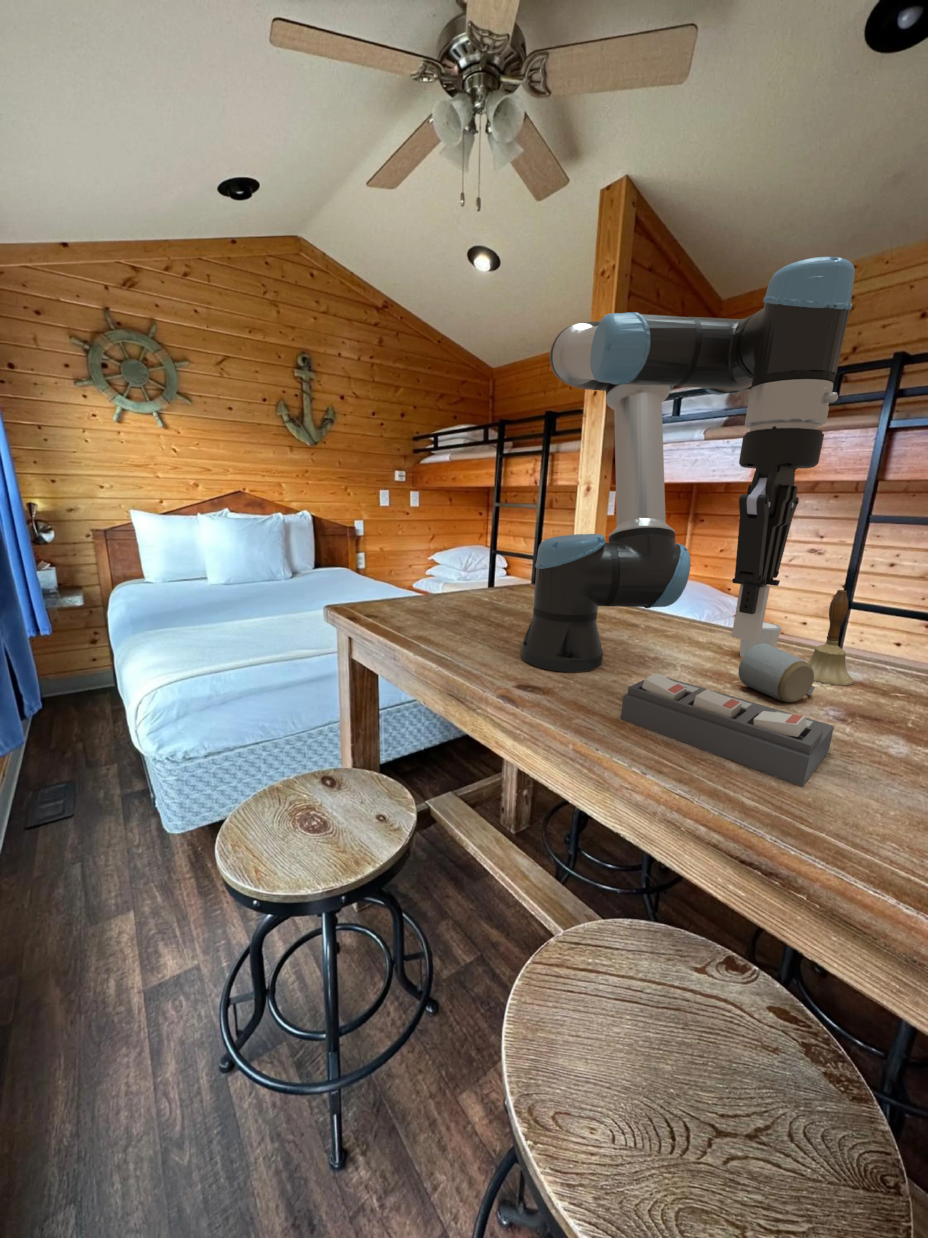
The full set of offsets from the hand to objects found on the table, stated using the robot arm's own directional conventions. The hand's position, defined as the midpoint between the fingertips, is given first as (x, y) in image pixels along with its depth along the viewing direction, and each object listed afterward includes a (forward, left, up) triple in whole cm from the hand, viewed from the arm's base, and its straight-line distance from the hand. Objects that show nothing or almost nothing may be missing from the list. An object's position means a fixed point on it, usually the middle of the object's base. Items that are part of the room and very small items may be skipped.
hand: (745, 638), depth 60 cm
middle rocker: (-2, 0, -9) cm, 9 cm away
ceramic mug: (-1, +26, -15) cm, 29 cm away
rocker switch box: (-2, +2, -14) cm, 15 cm away
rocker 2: (+5, 0, -9) cm, 10 cm away
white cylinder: (-10, +43, -14) cm, 47 cm away
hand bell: (+2, +41, -14) cm, 44 cm away
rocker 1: (-9, 0, -9) cm, 13 cm away
